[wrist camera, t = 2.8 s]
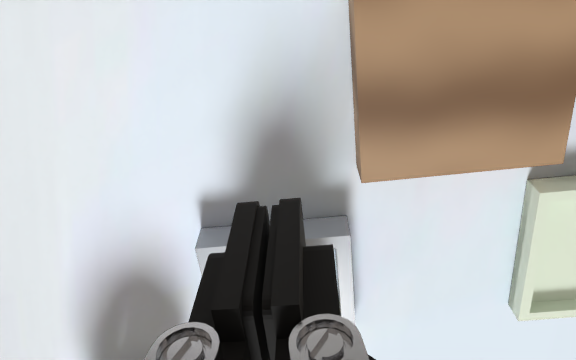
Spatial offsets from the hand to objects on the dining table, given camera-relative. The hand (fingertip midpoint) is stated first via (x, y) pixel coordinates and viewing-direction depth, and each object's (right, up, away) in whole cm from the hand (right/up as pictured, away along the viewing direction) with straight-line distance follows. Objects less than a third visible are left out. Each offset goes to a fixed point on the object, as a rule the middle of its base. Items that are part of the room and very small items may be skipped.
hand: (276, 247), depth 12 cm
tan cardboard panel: (+9, +7, +11) cm, 16 cm away
